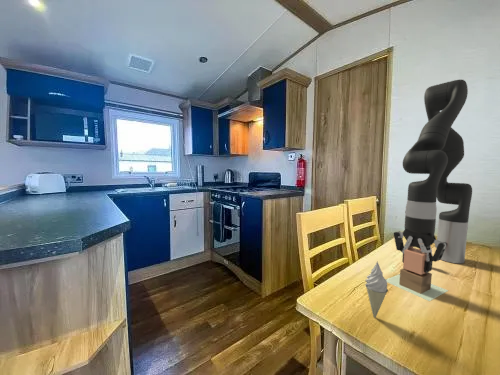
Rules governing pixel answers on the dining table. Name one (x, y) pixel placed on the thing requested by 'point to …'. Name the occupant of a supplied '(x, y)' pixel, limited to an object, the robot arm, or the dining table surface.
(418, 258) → the terracotta block
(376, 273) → the ice cream cone
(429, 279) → the walnut block
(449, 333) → the dining table surface
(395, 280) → the sage board
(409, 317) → the dining table surface
